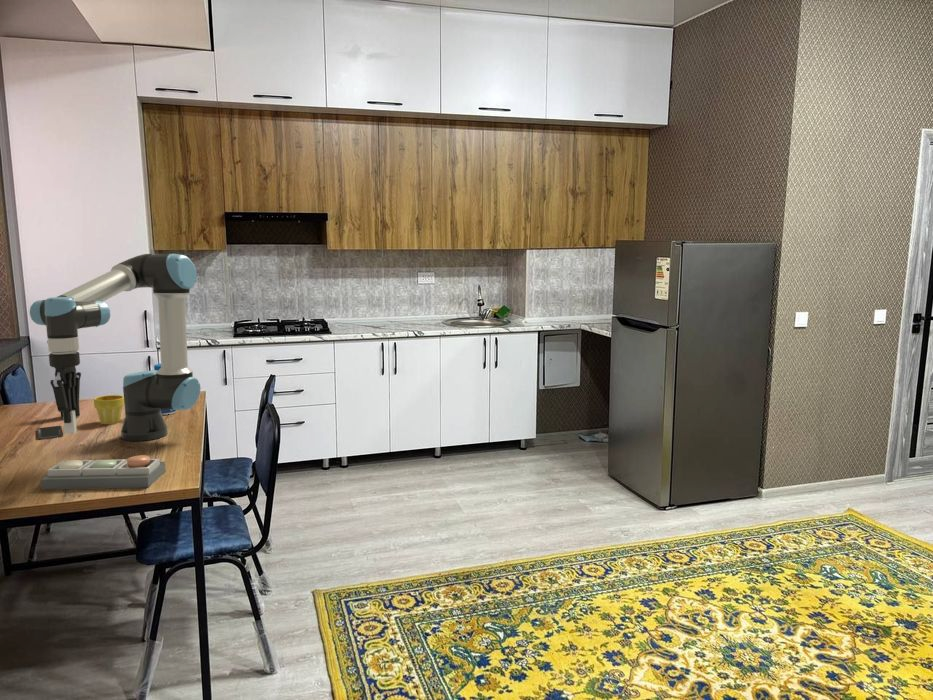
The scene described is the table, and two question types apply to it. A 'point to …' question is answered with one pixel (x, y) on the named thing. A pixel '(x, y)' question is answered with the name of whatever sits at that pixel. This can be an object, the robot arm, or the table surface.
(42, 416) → the table surface
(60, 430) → the phone
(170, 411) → the beverage bottle
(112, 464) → the sage button
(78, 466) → the cream button
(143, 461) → the terracotta button
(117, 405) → the plant pot
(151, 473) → the button panel
